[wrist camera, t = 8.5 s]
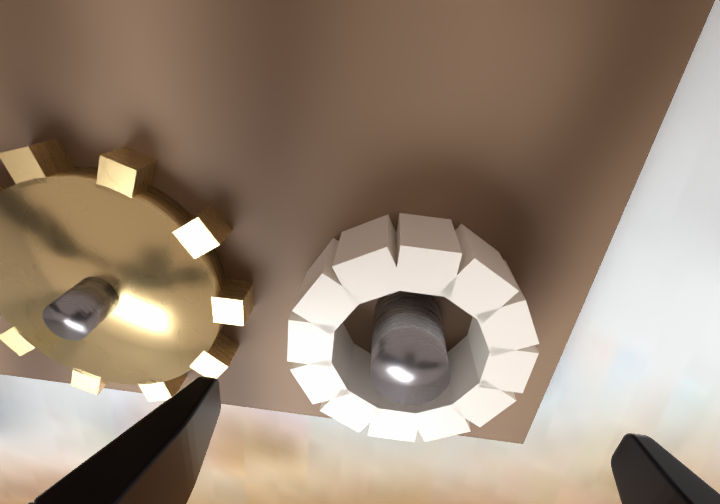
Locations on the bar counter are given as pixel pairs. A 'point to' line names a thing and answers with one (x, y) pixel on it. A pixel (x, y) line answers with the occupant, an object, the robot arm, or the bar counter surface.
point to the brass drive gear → (113, 272)
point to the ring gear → (417, 275)
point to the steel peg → (408, 349)
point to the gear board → (359, 140)
